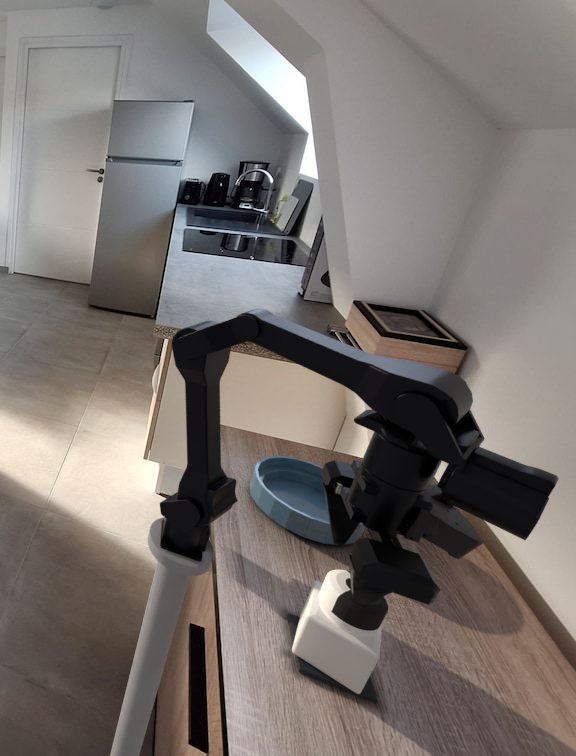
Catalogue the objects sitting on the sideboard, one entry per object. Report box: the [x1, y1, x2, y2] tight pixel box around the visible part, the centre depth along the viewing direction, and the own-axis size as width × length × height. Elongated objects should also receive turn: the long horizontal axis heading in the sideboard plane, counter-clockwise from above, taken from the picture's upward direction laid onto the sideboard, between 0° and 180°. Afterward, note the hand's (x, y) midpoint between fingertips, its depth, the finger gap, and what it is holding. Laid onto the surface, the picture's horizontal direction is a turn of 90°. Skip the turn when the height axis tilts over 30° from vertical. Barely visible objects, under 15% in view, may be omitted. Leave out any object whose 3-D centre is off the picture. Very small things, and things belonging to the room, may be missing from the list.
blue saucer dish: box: [248, 455, 366, 546], centre depth 83 cm, size 17×17×5 cm
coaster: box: [287, 612, 379, 704], centre depth 59 cm, size 8×8×1 cm
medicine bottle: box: [291, 569, 389, 694], centre depth 57 cm, size 7×7×12 cm
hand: (347, 571), depth 57 cm, fingers open, 9 cm apart
